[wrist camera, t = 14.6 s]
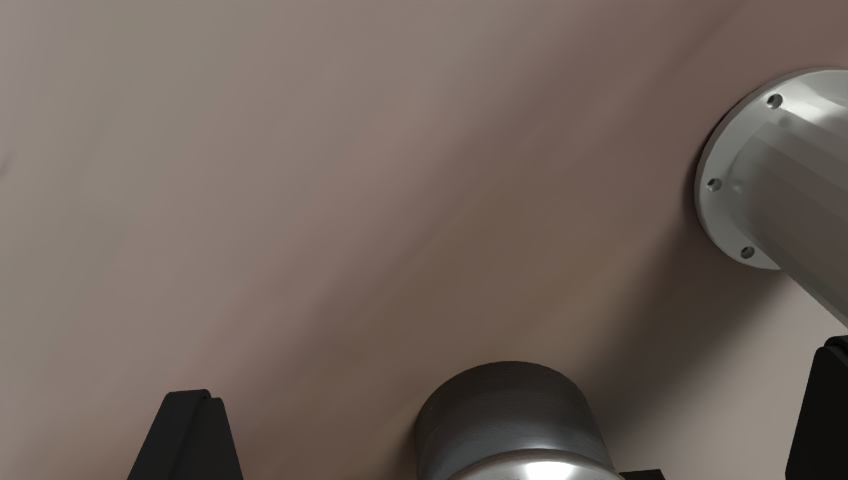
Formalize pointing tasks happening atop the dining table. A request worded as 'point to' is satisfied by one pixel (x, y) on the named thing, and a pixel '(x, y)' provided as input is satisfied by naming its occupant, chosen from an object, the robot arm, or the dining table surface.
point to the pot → (506, 420)
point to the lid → (539, 467)
